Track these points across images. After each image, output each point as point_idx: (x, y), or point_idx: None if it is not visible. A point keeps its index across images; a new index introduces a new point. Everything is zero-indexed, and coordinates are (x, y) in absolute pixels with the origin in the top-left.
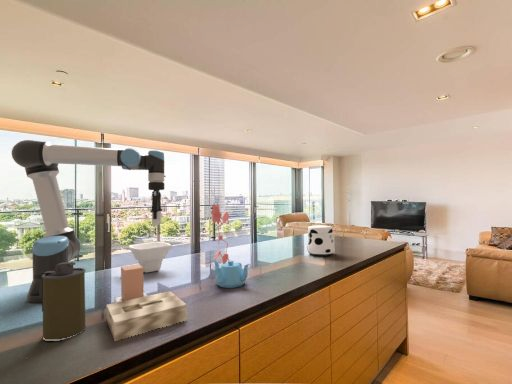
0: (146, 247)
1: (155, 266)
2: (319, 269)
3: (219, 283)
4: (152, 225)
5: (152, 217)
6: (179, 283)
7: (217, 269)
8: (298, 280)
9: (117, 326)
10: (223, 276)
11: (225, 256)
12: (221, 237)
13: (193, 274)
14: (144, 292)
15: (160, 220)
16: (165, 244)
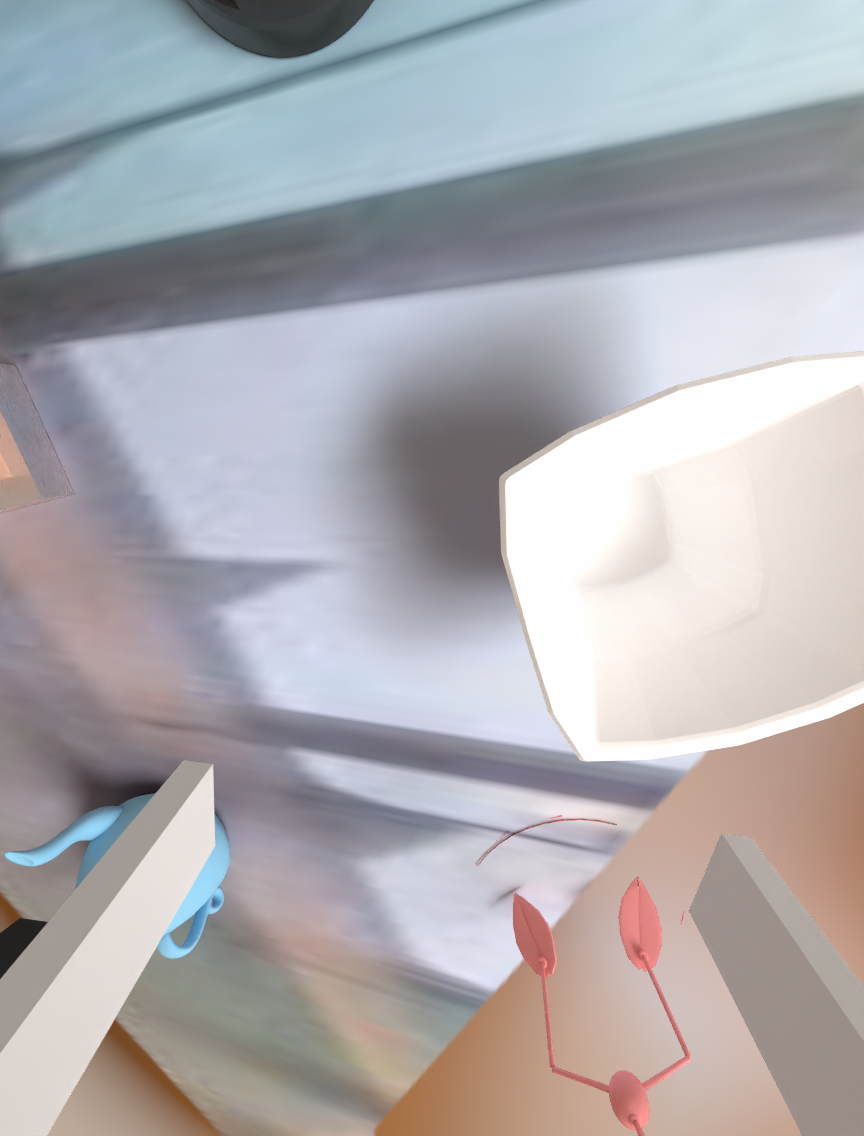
0: (835, 543)
1: (565, 572)
2: (261, 1111)
3: (126, 801)
4: (174, 774)
5: (29, 950)
6: (267, 657)
7: (26, 851)
8: (153, 1012)
9: None
10: (94, 840)
11: (539, 950)
12: (612, 1107)
13: (403, 737)
14: (26, 501)
15: (729, 982)
16: (718, 720)
